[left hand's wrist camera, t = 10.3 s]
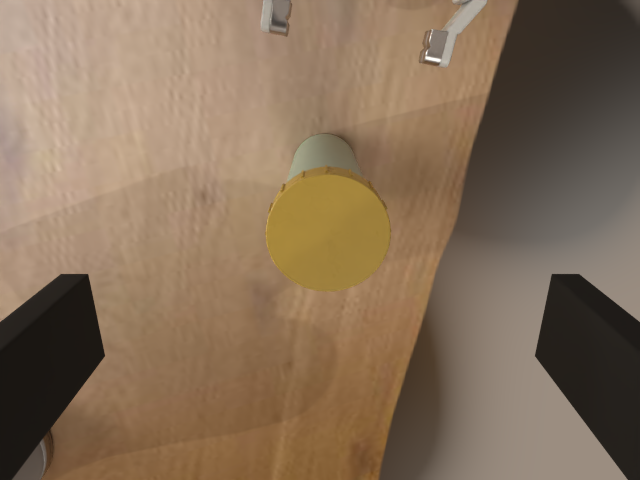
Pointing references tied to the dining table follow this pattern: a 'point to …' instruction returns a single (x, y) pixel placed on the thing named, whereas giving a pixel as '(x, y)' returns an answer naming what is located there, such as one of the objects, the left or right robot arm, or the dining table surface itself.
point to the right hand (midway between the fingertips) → (354, 50)
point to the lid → (328, 229)
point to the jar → (323, 155)
